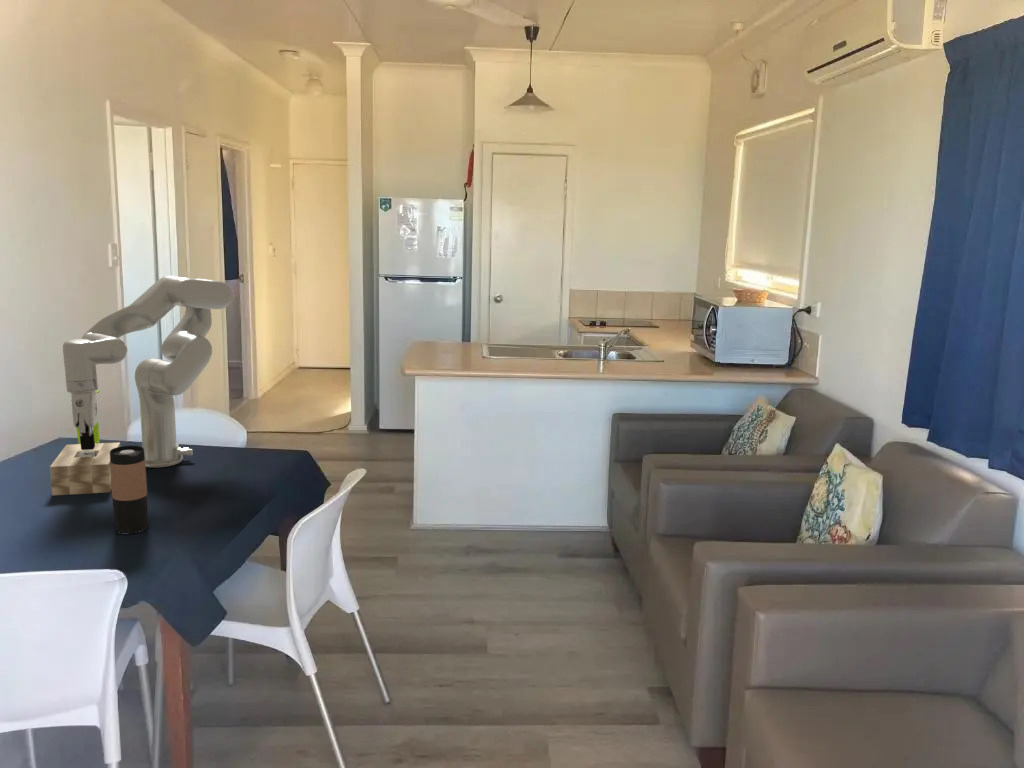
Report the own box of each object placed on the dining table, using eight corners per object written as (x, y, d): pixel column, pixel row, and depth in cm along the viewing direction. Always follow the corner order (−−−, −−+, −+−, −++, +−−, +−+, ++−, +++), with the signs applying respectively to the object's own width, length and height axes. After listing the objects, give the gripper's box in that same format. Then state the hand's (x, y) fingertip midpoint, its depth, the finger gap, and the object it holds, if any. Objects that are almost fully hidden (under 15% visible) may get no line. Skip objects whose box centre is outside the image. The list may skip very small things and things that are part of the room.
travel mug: (121, 522, 201) (116, 445, 196) (153, 522, 201) (149, 445, 197) (109, 534, 193) (103, 454, 189) (142, 535, 194) (137, 455, 190)
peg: (97, 473, 229) (95, 450, 228) (94, 478, 225) (93, 454, 224) (81, 474, 228) (79, 450, 226) (78, 479, 224) (76, 455, 223)
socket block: (121, 468, 238) (120, 442, 237) (110, 492, 220) (108, 464, 218) (68, 471, 234) (66, 444, 232) (52, 495, 216) (49, 466, 214)
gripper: (92, 390, 215) (98, 456, 220) (102, 377, 229) (107, 439, 233) (60, 392, 213) (67, 458, 217) (72, 378, 227) (78, 441, 231)
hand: (88, 448), depth 225 cm, fingers closed
